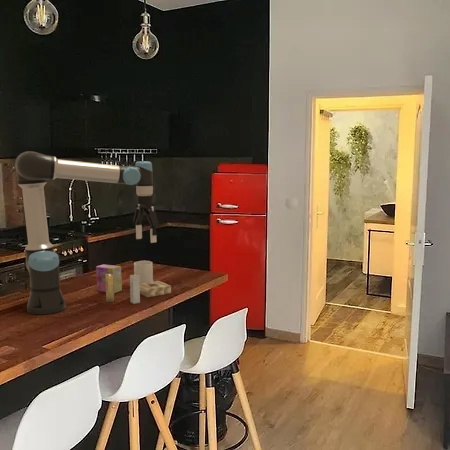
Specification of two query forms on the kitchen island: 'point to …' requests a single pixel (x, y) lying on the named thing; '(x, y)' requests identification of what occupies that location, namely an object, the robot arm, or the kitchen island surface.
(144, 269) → the mug
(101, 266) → the box
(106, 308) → the kitchen island surface
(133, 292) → the square bit
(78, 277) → the kitchen island surface
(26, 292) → the kitchen island surface
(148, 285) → the socket block
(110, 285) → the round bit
